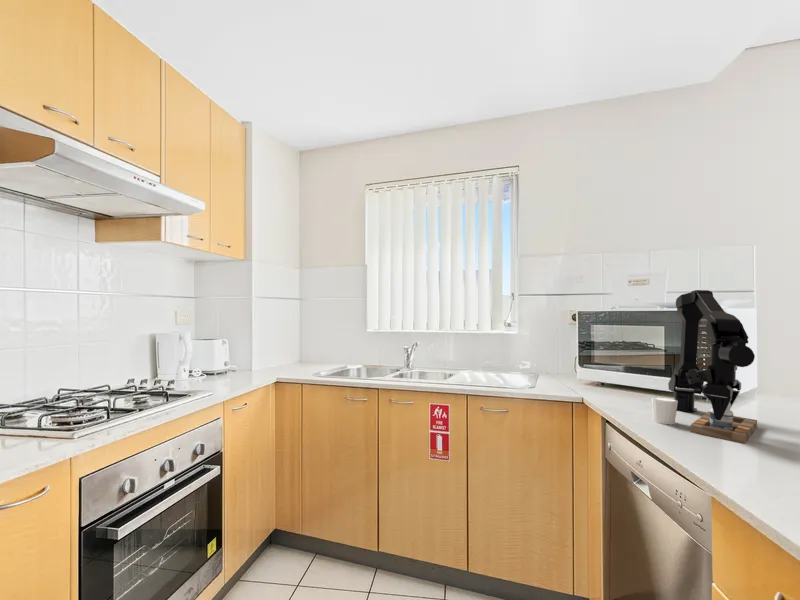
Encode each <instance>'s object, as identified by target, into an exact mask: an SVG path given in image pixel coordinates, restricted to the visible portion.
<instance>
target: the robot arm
mask: <svg viewBox="0 0 800 600" xmlns="http://www.w3.org/2000/svg"><path fill="white" fill-rule="evenodd" d="M675 306H676V310H677V311H676V312H677V314H678V316H679V317H680V319H681V322H682V323H681V337H680V356H679V362H678V363H677V364H676V366H675V367H674V368H673V374H671V376H670V379H669V381H668V390H669V391H671V392H673V393H674V400H677V401H678V404H677V411H681V410H682V411H681V412H686V411H688V413H692V412H693V413H695V412H697V410H698V408H697V407H695V397H696V396H695V394H697V395H702V394H703V396H704V397H705V398H707V399H708V400H709V401H710V405H711V409H712V408H713V412H714V415H715V419H716V420H721V419H722V417H723V415H724V413H725V411H726V409H727V407H728V405H729V403H731V407H732V406H733V405H734V403H735V402H736V399H737V398H738V396H739V394H740V393H741V390H742V382H740V381H739V380H738V379H736V375H737V373H736V371H737V370H738V367H739V368H745V367H746V368H747V367H749V366H750V365H752V364H753V363H754V360H755V359H756V356H755V353H754V351H753V350H752V348H750V347H749V346H747V344H749V340H748V339H749V336H748V334H747V331H746V330H745V327H744V324H743V323H742V322H741V320H740V319H739V318H737V317H736V316H735V315H733V314H731V313H728V312H726V311H725V310H724V309H723V307H722V306H721V305H720V303H719V302H718V301H717V300H716V298H715V297H714V294H713V291H712V290H708V289H706V290H705V289H704V290H703V289H700V290H699V289H695V290H692V291H690V292H687V293H684V294H681V295H679V296H678V297H677V298H676V299H675ZM703 318H705V319H706V320H705V321H707V322H706V325H705V330H706V332H707V335H708V336H709V338H710V341H709V344H710V362H709V363H710V364H708V365H707V369H700V368H699V366H698V364H697V360H698V345H699V344H698V343H699V328H700V327H699V326H700V321H701V320H702V319H703ZM705 382H706V383H705ZM734 389H735V390H734ZM694 411H695V412H694Z"/></svg>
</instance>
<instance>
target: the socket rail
mask: <svg viewBox="0 0 800 600" xmlns="http://www.w3.org/2000/svg"><path fill="white" fill-rule="evenodd" d="M757 427H758V419H752V418H747V417H743V416H742V417H741V416H736V415H733V431H730V430H725V429H720V428H715V427H710V411H707V412H706V413H705V414H703V415H702V416H701V417H699V418H697V419H696V420H694V421H693V422H692V423H691V424H690V433H693V432H695V433H694V434H698V433H699V434H700V435H703V434H704V436H708V437H712V436H713V438H717V437H718V439H722V438H723V440H728V441H732V442H737V443H742V444H746V442H747V441H748V439H749V438H750V437H751V435H752V434H753V433H754V432H755V430H756V429H757Z"/></svg>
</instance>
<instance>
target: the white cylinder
mask: <svg viewBox="0 0 800 600" xmlns="http://www.w3.org/2000/svg"><path fill="white" fill-rule="evenodd" d="M674 399H675V398H674ZM674 399H673V398H670V397H661V396H652V397H651V399H650V400H651V409H652V412H651V413H652V421H653V422H654V423H658V424H662V425H668V424H669V426H672V424H673V425H675V424H676V416H677V411H678V410H677V404H678V401H677V400H674Z"/></svg>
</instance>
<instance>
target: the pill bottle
mask: <svg viewBox="0 0 800 600" xmlns="http://www.w3.org/2000/svg"><path fill="white" fill-rule="evenodd" d="M731 408H732V406H731V403H729V405H728V407H727V409H726V411H725V413H724V415H723V417H722V419H721V420H716V419H715V415H714V412H713V408H712V407H711V408H710V410H709V412H710V427H715V428H720V429H725V430H730V431H733V416H734V412H733V411H732V410H731Z"/></svg>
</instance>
